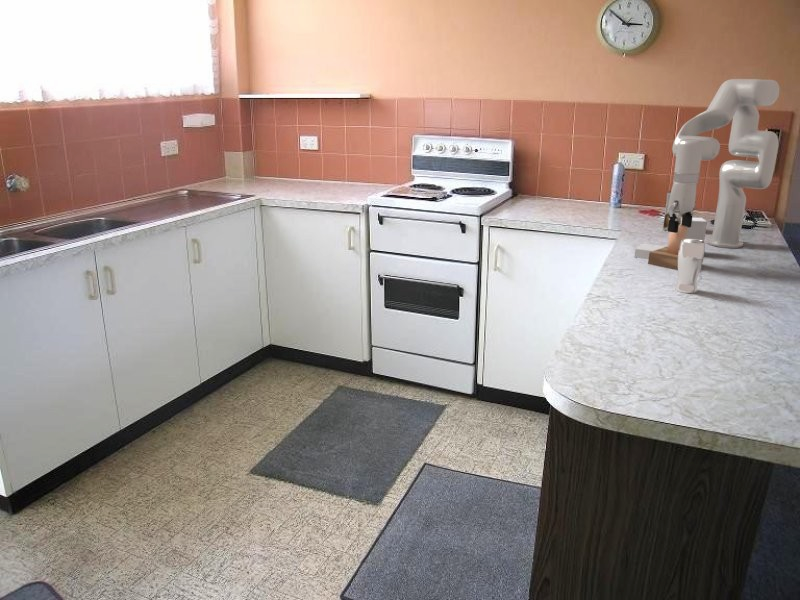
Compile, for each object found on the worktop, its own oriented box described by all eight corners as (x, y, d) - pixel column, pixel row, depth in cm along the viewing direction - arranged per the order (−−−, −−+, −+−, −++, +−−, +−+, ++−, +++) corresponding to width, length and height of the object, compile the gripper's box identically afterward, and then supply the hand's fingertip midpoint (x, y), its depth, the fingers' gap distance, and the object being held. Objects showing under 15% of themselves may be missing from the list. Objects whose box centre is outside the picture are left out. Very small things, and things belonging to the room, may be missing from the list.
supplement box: (702, 256, 236) (707, 221, 232) (680, 255, 237) (685, 220, 233) (697, 251, 243) (703, 217, 239) (676, 250, 244) (681, 216, 240)
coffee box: (688, 230, 277) (694, 191, 272) (685, 233, 272) (691, 193, 267) (665, 227, 282) (670, 189, 277) (662, 230, 276) (667, 191, 271)
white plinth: (640, 251, 242) (641, 243, 241) (669, 255, 237) (670, 246, 236) (634, 257, 234) (635, 248, 233) (664, 261, 229) (665, 252, 228)
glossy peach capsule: (671, 250, 228) (674, 224, 225) (686, 252, 224) (690, 226, 221) (664, 252, 224) (667, 226, 222) (679, 255, 221) (683, 228, 218)
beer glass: (697, 288, 200) (705, 239, 195) (699, 294, 193) (707, 244, 189) (672, 285, 202) (679, 237, 197) (673, 292, 195) (680, 242, 191)
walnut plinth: (664, 257, 234) (665, 246, 232) (698, 264, 225) (700, 253, 224) (647, 263, 226) (649, 252, 224) (682, 271, 217) (684, 259, 216)
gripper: (686, 173, 225) (680, 223, 231) (662, 180, 214) (656, 232, 219) (708, 175, 220) (701, 226, 225) (685, 183, 208) (678, 236, 214)
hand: (679, 229), depth 222 cm, fingers open, 9 cm apart
